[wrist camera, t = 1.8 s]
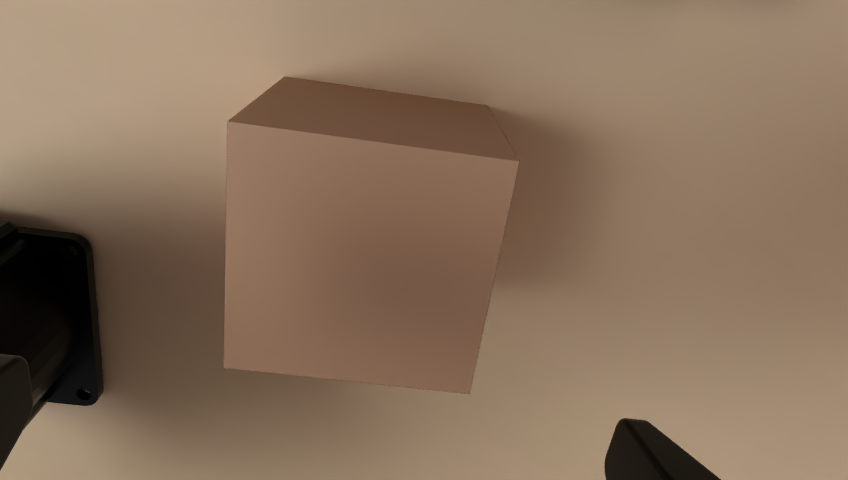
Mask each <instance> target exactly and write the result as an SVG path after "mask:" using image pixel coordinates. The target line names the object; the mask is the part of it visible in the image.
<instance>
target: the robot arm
mask: <svg viewBox="0 0 848 480" xmlns="http://www.w3.org/2000/svg"><path fill="white" fill-rule="evenodd" d="M68 246H72V247H74V248H75V249H76V250H77V252H78V255H75V254H72V253H71V252H70V251H69V249H68ZM83 388H84V389H87V390H88V391H89V392H90V393H88V392H85V391H84V390H83ZM103 389H104V387H103V375H102V363H101V351H100V339H99V327H98V315H97V302H96V290H95V278H94V266H93V254H92V247H91V244H90V243H89V242H88V240H87V239H86V238H84V237H83V236H81V235H78V234H74V233H66V232H58V231H50V230H41V229H33V228H25V227H17V226H16V225H15V224H13V223H12V222H10V221H8V220H0V470H1V468H2V467H3V465H4V463H5V461H6V459H7V458H8V456H9V454H10V452H11V451H12V449H13V447H14V445H15V443H16V442H17V440H18V438H19V436H20V434H21V433H22V431H23V429H24V428H25V427H26V426H27V425H28V424H29V422H30V421H31V420H32V419H33V418H34V417H35V415H36V414H37V413H38V412H39V411H40V409H41V408H42V407H43V406H44V405H45V404H46V402H53V403H63V404H73V405H83V406H88V405H92V404H94V403H95V402H96V401H97V400H98V399H99V397H100V396H101V395H102V393H103ZM605 476H606V480H721V479H719V478H718V477H717V476H716V475H714V474H713V473H712V472H711V471H709V470H708V469H707V468H706V467H704V466H703V465H702V464H701V463H699V462H698V461H697V460H696V459H694V458H693V457H692V456H691V455H689V454H688V453H687V452H686V451H684V450H683V449H682V448H681V447H679V446H678V445H677V444H676V443H674V442H673V441H672V440H671V439H669V438H668V437H667V436H666V435H664V434H663V433H662V432H661V431H659V430H658V429H657V428H656V427H654V426H653V425H652V424H651V423H649V422H648V421H645V420H637V419H628V418H624V419H621V420H620V421H619V422H618V423H617V426H616V428H615V431H614V434H613V437H612V440H611V443H610V446H609V449H608V451H607V454H606V458H605Z"/></svg>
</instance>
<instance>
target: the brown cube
mask: <svg viewBox="0 0 848 480" xmlns="http://www.w3.org/2000/svg"><path fill="white" fill-rule="evenodd" d="M519 162H520V161H519V160H518V158H517V156H516V154H515V153H514V151H513V149H512V148H511V146H510V144H509V142H508V141H507V139H506V137H505V136H504V134H503V132H502V130H501V129H500V127H499V125H498V124H497V122H496V120H495V118H494V117H493V115H492V113H491V112H490V110H489V108H488V106H486V105H479V104H472V103H465V102H458V101H451V100H444V99H437V98H430V97H423V96H416V95H409V94H402V93H395V92H388V91H381V90H374V89H367V88H360V87H353V86H346V85H339V84H332V83H325V82H318V81H311V80H304V79H297V78H290V77H283V78H282V79H281V80H279V81H278V82H277V83H276V84H274V85H273V86H272V87H271V88H269V89H268V90H267V91H265V92H264V93H263V94H262V95H260V96H259V97H258V98H257V99H255V100H254V101H253V102H252V103H250V104H249V105H248V106H246V107H245V108H244V109H243V110H241V111H240V112H239V113H238V114H236V115H235V116H234V117H232V118H231V119H230V120H229V121H227V180H226V245H225V311H224V368H230V369H239V370H249V371H258V372H267V373H277V374H286V375H295V376H305V377H314V378H323V379H333V380H342V381H352V382H361V383H370V384H380V385H389V386H398V387H408V388H417V389H426V390H436V391H445V392H454V393H464V394H470V390H471V385H472V381H473V376H474V371H475V367H476V362H477V357H478V353H479V348H480V343H481V339H482V334H483V330H484V325H485V320H486V316H487V311H488V306H489V302H490V297H491V292H492V288H493V283H494V278H495V274H496V269H497V264H498V260H499V255H500V250H501V246H502V241H503V236H504V232H505V227H506V222H507V218H508V213H509V209H510V204H511V199H512V195H513V190H514V185H515V181H516V176H517V171H518V167H519Z"/></svg>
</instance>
